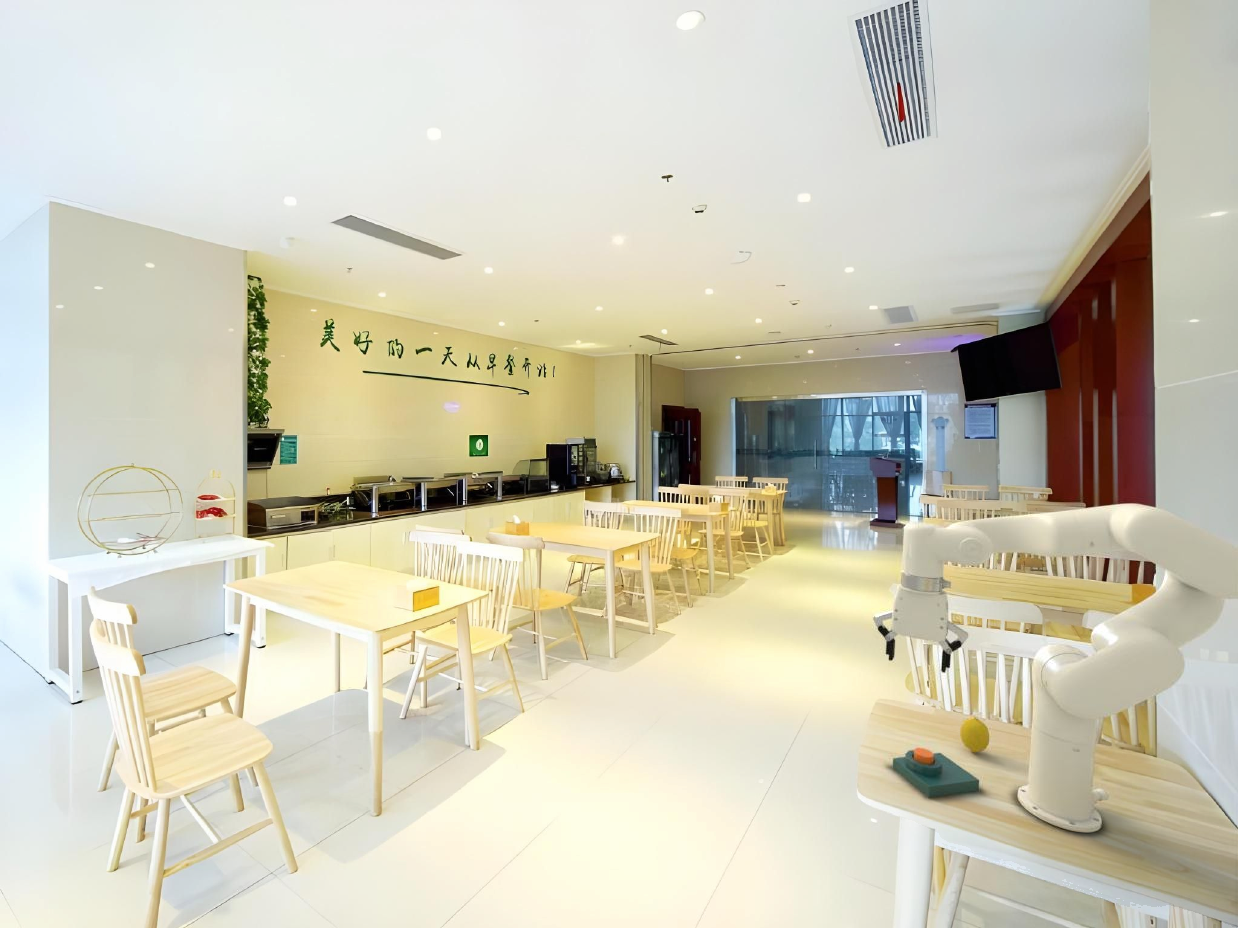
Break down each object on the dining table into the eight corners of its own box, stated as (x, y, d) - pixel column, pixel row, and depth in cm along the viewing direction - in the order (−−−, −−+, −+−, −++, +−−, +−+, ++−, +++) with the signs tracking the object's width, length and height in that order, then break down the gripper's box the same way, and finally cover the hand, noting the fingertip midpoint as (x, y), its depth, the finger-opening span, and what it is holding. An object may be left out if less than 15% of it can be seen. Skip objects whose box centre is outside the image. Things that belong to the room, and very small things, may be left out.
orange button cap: (924, 754, 118) (924, 746, 118) (937, 764, 114) (937, 756, 114) (909, 756, 117) (910, 748, 117) (922, 766, 114) (923, 757, 114)
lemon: (960, 742, 130) (962, 709, 130) (988, 751, 127) (990, 716, 126) (958, 753, 125) (960, 718, 125) (987, 762, 122) (989, 726, 122)
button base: (939, 762, 122) (940, 744, 121) (978, 790, 112) (980, 771, 112) (892, 767, 119) (893, 749, 119) (928, 797, 109) (929, 777, 109)
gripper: (971, 586, 113) (966, 669, 114) (878, 572, 123) (874, 649, 123) (970, 594, 107) (965, 681, 107) (872, 579, 116) (868, 659, 117)
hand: (916, 664), depth 115 cm, fingers open, 9 cm apart
